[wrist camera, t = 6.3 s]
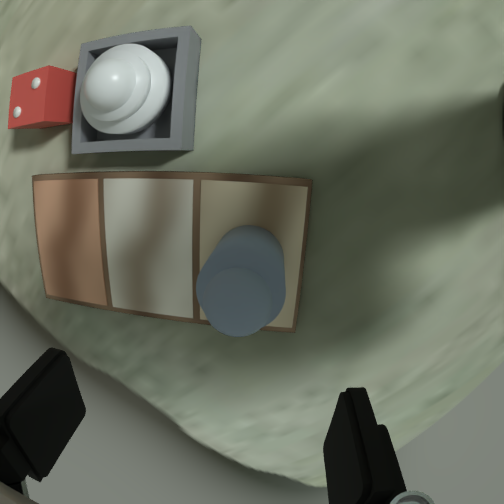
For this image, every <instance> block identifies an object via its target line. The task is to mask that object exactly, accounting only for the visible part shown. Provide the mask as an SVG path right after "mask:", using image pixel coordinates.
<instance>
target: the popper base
mask: <svg viewBox="0 0 504 504" xmlns="http://www.w3.org/2000/svg"><path fill="white" fill-rule="evenodd" d="M122 44H138V45H142V46H144V47H146V48H148V49H149V50H151V51H152V52H154V53H155V54H156V55H158V56H159V57H160V58H162V59H163V61H164V62H165V63H166V64H167V66H168V68H169V70H170V73H171V77H172V91H171V96H170V99H169V102H168V104H167V106H166V108H165V110H164V112H163V113H162V114H161V116H160V117H159V118H158V119H157V120H156V121H155V122H154V123H153V124H152V125H150V126H149V127H148V128H146V129H144V130H142V131H140V132H137V133H133V134H109V133H104V132H101V131H99V130H97V129H95V128H94V127H92V126H91V125H90V124H89V123H88V121H87V120H86V119H85V117H84V115H83V112H82V109H81V104H80V91H81V86H82V82H83V79H84V77H85V75H86V73H87V71H88V69H89V68H90V66H91V65H92V63H93V62H94V61H95V60H96V59H97V58H98V57H99V56H100V55H101V54H103V53H104V52H106V51H107V50H109V49H111V48H113V47H115V46H118V45H122ZM200 49H201V38H200V37H199V36H198V34H197V33H196V32H195V30H194V29H193V28H192V26H181V27H171V28H163V29H155V30H148V31H141V32H135V33H129V34H124V35H118V36H113V37H109V38H104V39H99V40H95V41H91V42H87V43H83V44H81V49H80V56H79V63H78V70H77V78H76V87H75V98H74V110H73V127H72V154H82V153H97V152H116V151H147V150H193V149H194V129H195V112H196V97H197V84H198V71H199V60H200Z"/></svg>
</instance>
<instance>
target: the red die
mask: <svg viewBox="0 0 504 504" xmlns="http://www.w3.org/2000/svg"><path fill="white" fill-rule="evenodd" d="M76 78H77V73H74V72H71V71H67V70H64V69H60V68H57V67H53V66H46V67H42V68H39V69H36V70H33V71H30V72H27V73H24V74H21V75H19V76H16V77H13V80H12V88H11V96H10V107H9V120H8V129H41V128H46V127H52V126H59V125H65V124H72V123H73V110H74V98H75V87H76Z"/></svg>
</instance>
